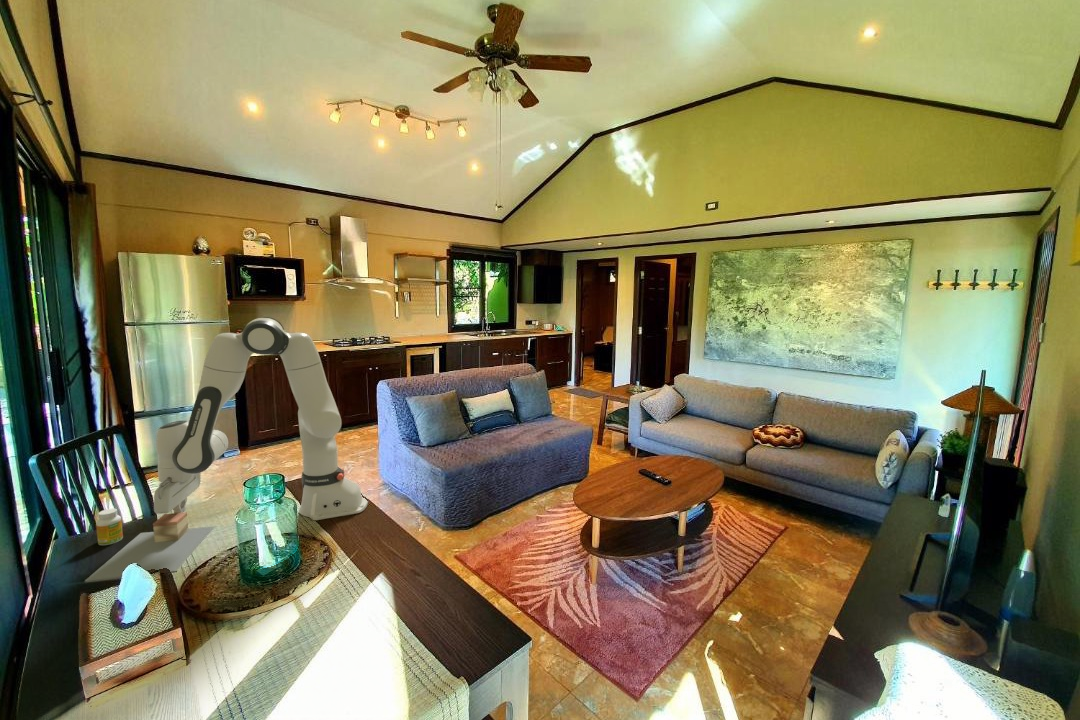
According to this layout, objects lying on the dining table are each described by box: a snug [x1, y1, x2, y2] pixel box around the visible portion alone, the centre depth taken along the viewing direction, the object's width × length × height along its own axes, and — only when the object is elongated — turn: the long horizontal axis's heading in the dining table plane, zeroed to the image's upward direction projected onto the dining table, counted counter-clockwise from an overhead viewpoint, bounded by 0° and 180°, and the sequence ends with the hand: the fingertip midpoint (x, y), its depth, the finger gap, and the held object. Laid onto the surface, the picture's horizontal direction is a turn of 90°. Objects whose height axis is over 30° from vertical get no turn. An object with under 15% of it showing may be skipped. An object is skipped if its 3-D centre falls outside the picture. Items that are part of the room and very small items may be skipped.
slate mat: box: [84, 526, 216, 583], centre depth 127 cm, size 20×24×1 cm
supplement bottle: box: [95, 508, 124, 546], centre depth 131 cm, size 5×5×10 cm
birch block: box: [152, 511, 189, 542], centre depth 135 cm, size 6×6×6 cm
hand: (180, 513), depth 140 cm, fingers closed
